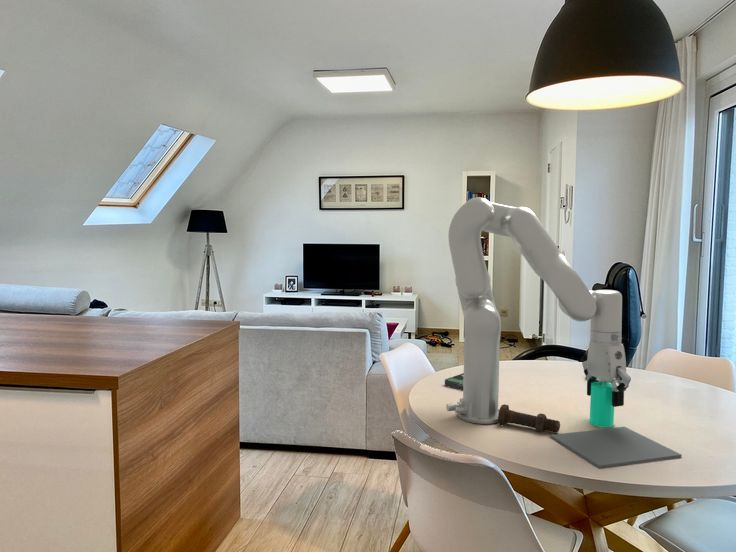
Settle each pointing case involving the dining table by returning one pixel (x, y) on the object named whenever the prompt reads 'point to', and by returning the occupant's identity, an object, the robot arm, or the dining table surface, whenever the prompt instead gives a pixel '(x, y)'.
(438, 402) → the dining table surface
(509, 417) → the bolt
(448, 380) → the disk drive
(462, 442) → the dining table surface
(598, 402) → the candle
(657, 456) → the mat
